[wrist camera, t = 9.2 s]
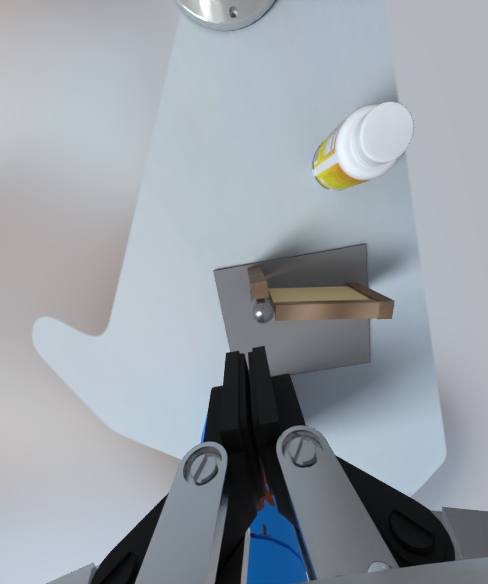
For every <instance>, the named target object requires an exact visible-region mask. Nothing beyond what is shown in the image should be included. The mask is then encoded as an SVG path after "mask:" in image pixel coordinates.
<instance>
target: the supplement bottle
mask: <svg viewBox="0 0 488 584" xmlns="http://www.w3.org/2000/svg"><path fill="white" fill-rule="evenodd" d="M413 131H414V123H413V118H412V115H411V113H410V112H409V110H408V109H407V108H406V107H405V106H404V105H402V104H400V103H397V102H385V103H382V104H372V105H367V106H364V107H361V108H359V109H357V110H356V111H354V112H353V113H352V114H351V115H350V116H349V117H348V118H347V119H346V120H345V121H344V122H343V123H342V124H341V125H340V126H339V127H338V128H337V129H336V130H335V131H334V132H333V133H332V134H331V135H330V136H329V137H328V138H327V139H326V140H325V141H324V142H323V143H322V144H321V145H320V146H319V147H318V149H317V150H316V152H315V155H314V157H313V161H312V171H313V175H314V178H315V180H316V181H317V183H318V184H319V185H320V186H321V187H323V188H324V189H327V190H330V191H338V190H342V189H345V188H348V187H351V186H354V185H357V184H360V183H362V182H365V181H368V180H371V179H374V178H376V177H379V176H381V175H382V174H384V173H385V172H387V171H388V170H389V169H390V168H391V167H392V166H393V165H394V164H395V162H396V161H397V159H398V158H399V156H400V155H401V154H402V153H403V152H404V151H405V150H406V149H407V147H408V146H409V144H410V142H411V139H412V136H413Z"/></svg>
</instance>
